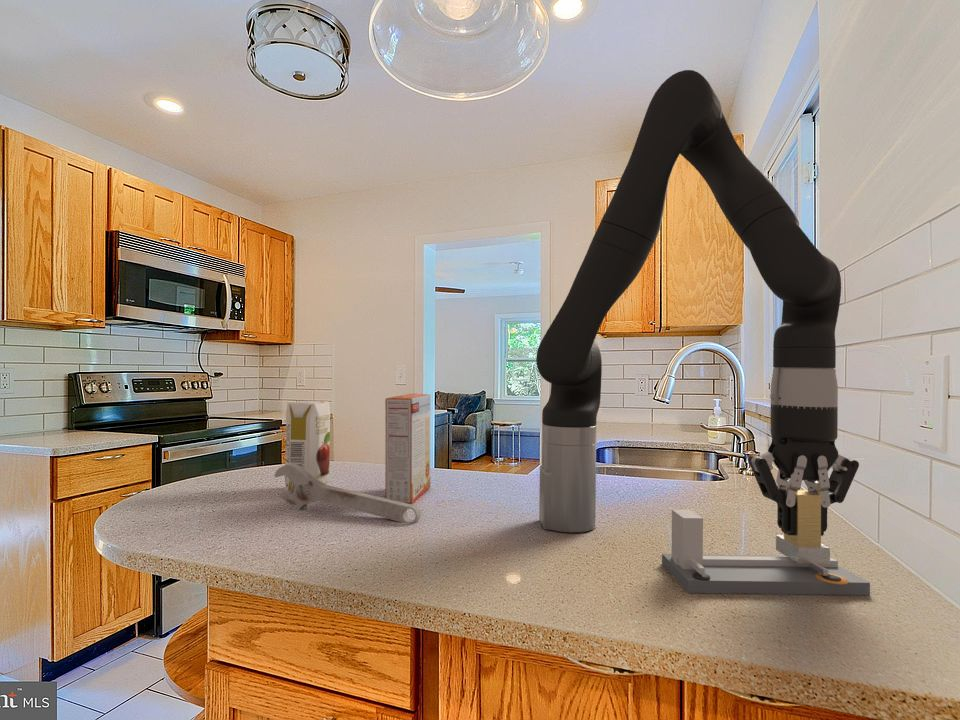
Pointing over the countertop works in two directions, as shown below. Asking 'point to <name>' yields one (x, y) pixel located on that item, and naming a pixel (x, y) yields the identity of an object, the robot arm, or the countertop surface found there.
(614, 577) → the countertop surface
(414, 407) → the cracker box
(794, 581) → the bolt plate
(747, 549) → the countertop surface
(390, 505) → the wrench
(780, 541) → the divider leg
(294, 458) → the juice carton
